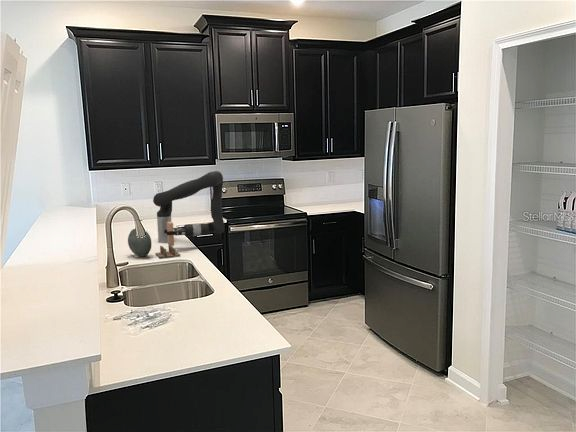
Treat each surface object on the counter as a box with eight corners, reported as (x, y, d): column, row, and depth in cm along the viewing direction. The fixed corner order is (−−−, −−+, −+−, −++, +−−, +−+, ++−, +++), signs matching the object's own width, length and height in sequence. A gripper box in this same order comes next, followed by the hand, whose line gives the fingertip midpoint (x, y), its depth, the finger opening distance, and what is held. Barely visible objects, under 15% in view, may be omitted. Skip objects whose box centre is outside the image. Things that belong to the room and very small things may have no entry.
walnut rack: (155, 254, 289) (154, 246, 288) (175, 252, 294) (174, 244, 294) (159, 258, 279) (159, 250, 278) (180, 256, 284) (180, 248, 283)
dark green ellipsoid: (146, 252, 295) (144, 216, 291) (154, 258, 281) (152, 220, 277) (126, 255, 289) (124, 218, 285) (134, 260, 275) (131, 222, 271)
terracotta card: (167, 244, 300) (166, 221, 298) (171, 243, 301) (170, 221, 299) (170, 246, 295) (169, 223, 292) (174, 245, 296) (173, 223, 294)
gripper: (189, 222, 309) (162, 224, 301) (195, 226, 296) (168, 228, 288) (189, 233, 310) (163, 236, 302) (196, 238, 297) (168, 240, 290)
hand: (165, 232), depth 295 cm, fingers closed on terracotta card, 6 cm apart
